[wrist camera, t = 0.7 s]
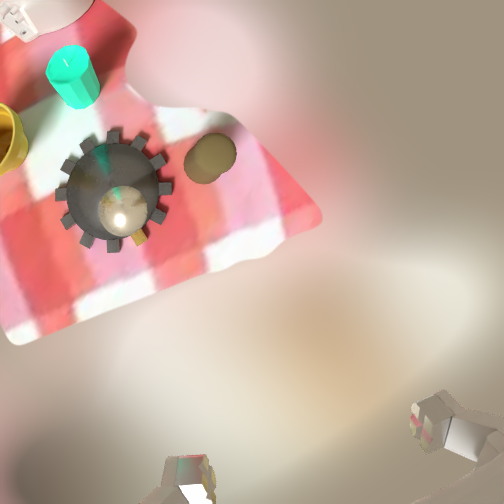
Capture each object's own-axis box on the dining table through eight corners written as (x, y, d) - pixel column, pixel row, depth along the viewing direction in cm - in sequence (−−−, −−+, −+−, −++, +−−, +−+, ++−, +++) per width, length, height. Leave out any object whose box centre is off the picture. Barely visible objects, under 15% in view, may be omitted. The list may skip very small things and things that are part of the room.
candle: (86, 67, 38) (70, 31, 27) (108, 89, 40) (96, 55, 29) (57, 94, 38) (33, 64, 26) (79, 116, 39) (58, 90, 28)
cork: (209, 137, 46) (225, 117, 35) (231, 170, 47) (252, 159, 37) (175, 158, 45) (181, 143, 34) (198, 192, 46) (210, 186, 36)
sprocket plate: (39, 218, 40) (36, 218, 38) (95, 113, 40) (93, 111, 39) (136, 272, 45) (136, 273, 44) (192, 167, 46) (193, 166, 45)
